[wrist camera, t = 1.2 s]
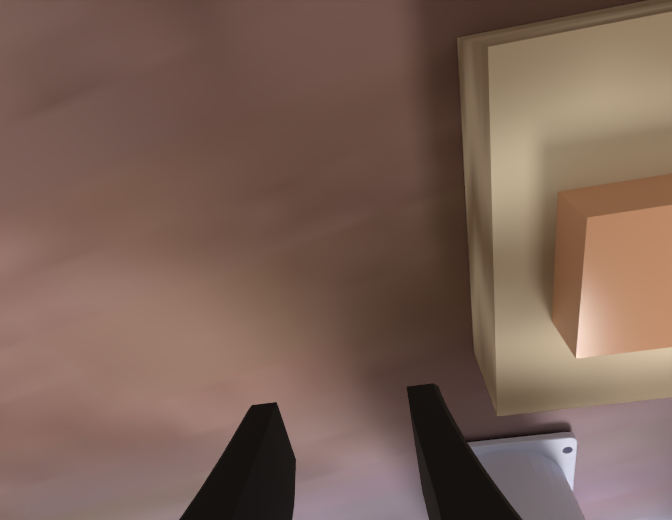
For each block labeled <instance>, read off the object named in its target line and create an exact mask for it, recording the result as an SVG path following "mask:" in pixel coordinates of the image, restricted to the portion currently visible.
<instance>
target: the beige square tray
mask: <svg viewBox="0 0 672 520" xmlns="http://www.w3.org/2000/svg"><path fill="white" fill-rule="evenodd" d="M457 47H458V66H459V84H460V103H461V122H462V140H463V159H464V178H465V196H466V215H467V234H468V252H469V271H470V290H471V308H472V327H473V345H474V354H475V357H476V360H477V362H478V365H479V368H480V371H481V373H482V376H483V379H484V382H485V384H486V387H487V390H488V393H489V395H490V398H491V401H492V404H493V406H494V409H495V412H496V414H497V417H498V416H507V415H516V414H525V413H534V412H543V411H552V410H561V409H570V408H579V407H588V406H597V405H606V404H615V403H624V402H633V401H642V400H651V399H660V398H669V397H672V347H669V348H660V349H652V350H644V351H636V352H627V353H619V354H611V355H603V356H595V357H586V358H578V359H576V358H575V357H574V355H573V354H572V352H571V350H570V349H569V347H568V346H567V344H566V343H565V341H564V340H563V338H562V337H561V335H560V333H559V332H558V330H557V329H556V327H555V326H554V324H553V323H552V307H553V286H554V264H555V243H556V221H557V200H558V192H559V191H565V190H571V189H578V188H584V187H590V186H597V185H603V184H609V183H615V182H622V181H628V180H634V179H641V178H647V177H653V176H660V175H666V174H672V0H647V1H642V2H637V3H632V4H626V5H621V6H616V7H611V8H606V9H601V10H596V11H591V12H586V13H581V14H575V15H570V16H565V17H560V18H555V19H550V20H545V21H540V22H535V23H530V24H525V25H519V26H514V27H509V28H504V29H499V30H494V31H489V32H484V33H479V34H474V35H469V36H463V37H458V38H457Z"/></svg>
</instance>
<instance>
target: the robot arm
mask: <svg viewBox="0 0 672 520" xmlns="http://www.w3.org/2000/svg"><path fill="white" fill-rule="evenodd" d="M407 392H408V399H409V405H410V412H411V419H412V426H413V432H414V439H415V446H416V453H417V459H418V466H419V472H420V479H421V485H422V492H423V496H424V500H425V504H426V508H427V512H428V516H429V520H585V518H584V516H583V513H582V511H581V509H580V507H579V505H578V503H577V500H576V498H575V496H574V494H573V485H574V474H575V464H576V453H577V439H576V437H575V435H574V434H573V433H570V432H560V433H551V434H541V435H532V436H522V437H513V438H504V439H494V440H485V441H475V442H467V441H466V439H465V438H464V436H463V435H462V433H461V431H460V429H459V428H458V426H457V424H456V422H455V421H454V419H453V417H452V415H451V413H450V412H449V410H448V408H447V406H446V404H445V401H444V399H443V397H442V395H441V392H440V390H439V387H438V386H436V385H435V384H425V385H417V386H408V387H407ZM295 470H296V459H295V456H294V453H293V450H292V447H291V444H290V441H289V438H288V435H287V432H286V429H285V426H284V423H283V420H282V417H281V414H280V411H279V408H278V405H277V402H275V403H267V404H258V405H252V406H251V407H250V408H249V410H248V411H247V413H246V415H245V417H244V418H243V420H242V422H241V424H240V425H239V427H238V429H237V430H236V432H235V434H234V436H233V437H232V439H231V441H230V442H229V444H228V446H227V447H226V449H225V451H224V452H223V454H222V456H221V457H220V459H219V461H218V462H217V464H216V465H215V467H214V468H213V470H212V472H211V473H210V475H209V476H208V478H207V479H206V481H205V483H204V484H203V486H202V487H201V489H200V490H199V492H198V493H197V495H196V496H195V498H194V499H193V501H192V502H191V503H190V505H189V506H188V508H187V509H186V511H185V512H184V514H183V515H182V516H181V518H180V519H179V520H292V516H293V509H294V497H295Z"/></svg>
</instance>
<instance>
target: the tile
mask: <svg viewBox="0 0 672 520" xmlns="http://www.w3.org/2000/svg"><path fill="white" fill-rule="evenodd" d="M552 323H553V324H554V326H555V327H556V329H557V330H558V332H559V333H560V335H561V337H562V338H563V340H564V341H565V343H566V344H567V346H568V347H569V349H570V350H571V352H572V354H573V355H574V357H575V358H576V359H578V358H586V357H595V356H603V355H611V354H619V353H627V352H636V351H644V350H652V349H660V348H669V347H672V174H666V175H660V176H653V177H647V178H641V179H634V180H628V181H622V182H615V183H609V184H603V185H597V186H590V187H584V188H578V189H571V190H565V191H559V192H558V200H557V221H556V243H555V264H554V286H553V307H552Z"/></svg>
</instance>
